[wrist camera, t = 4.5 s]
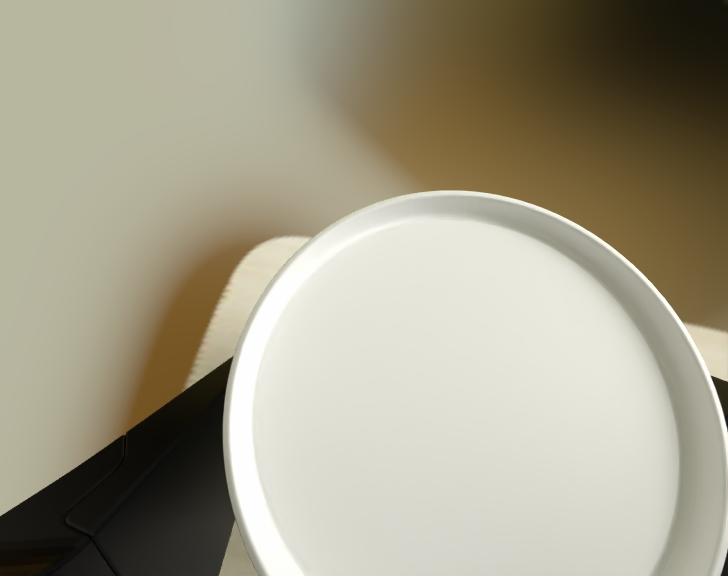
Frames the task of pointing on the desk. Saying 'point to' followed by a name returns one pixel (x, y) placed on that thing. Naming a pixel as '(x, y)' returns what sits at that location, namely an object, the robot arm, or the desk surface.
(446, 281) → the beverage can
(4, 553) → the robot arm
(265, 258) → the desk surface
